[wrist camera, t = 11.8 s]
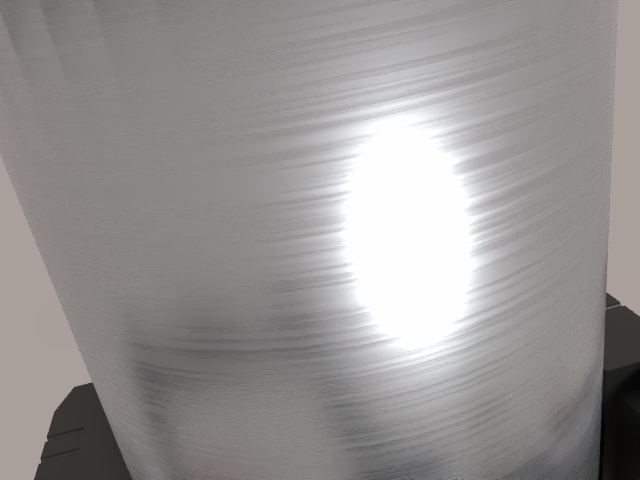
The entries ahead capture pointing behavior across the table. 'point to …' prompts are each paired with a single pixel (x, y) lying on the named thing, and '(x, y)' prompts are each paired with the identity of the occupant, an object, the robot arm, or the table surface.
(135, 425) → the metal can
